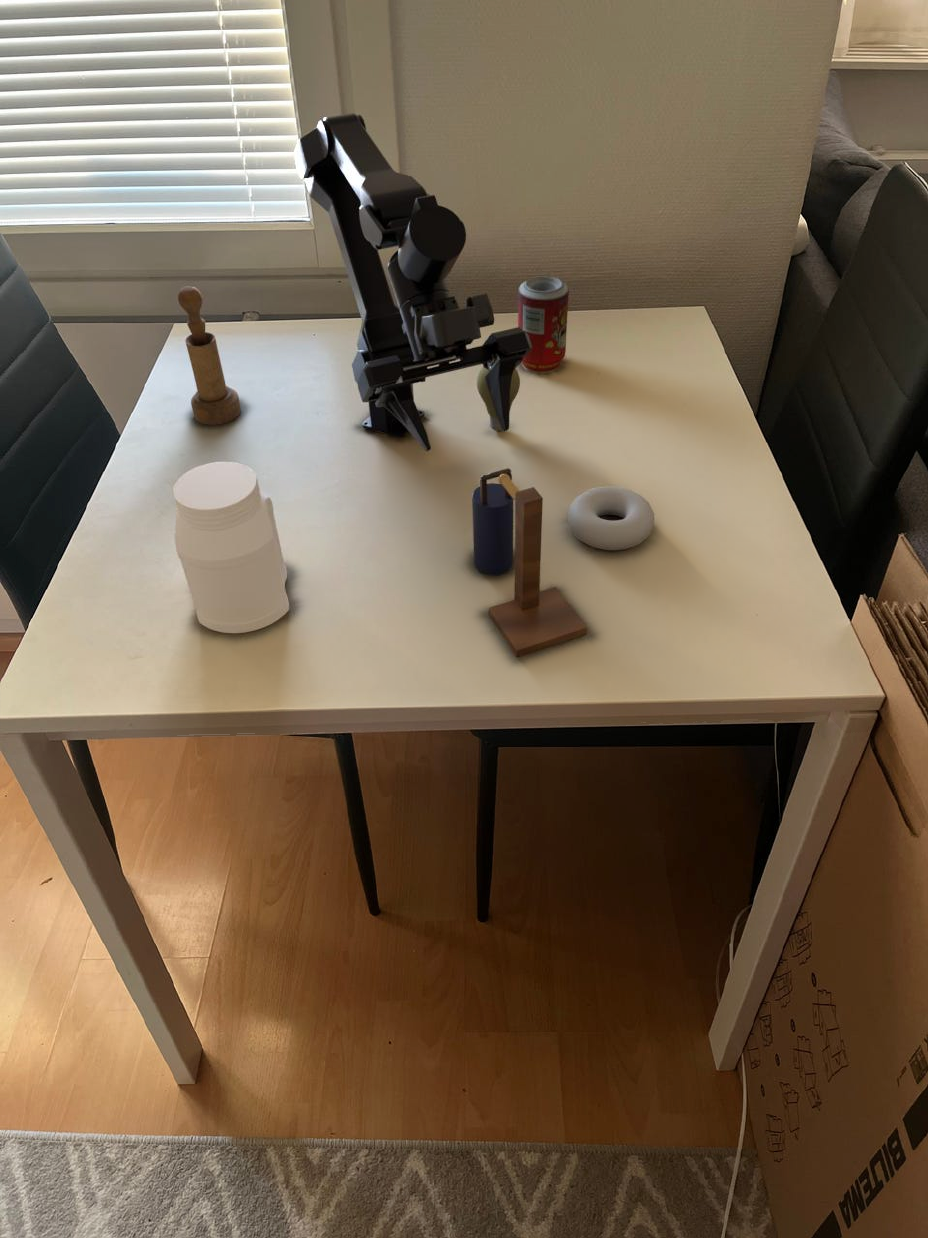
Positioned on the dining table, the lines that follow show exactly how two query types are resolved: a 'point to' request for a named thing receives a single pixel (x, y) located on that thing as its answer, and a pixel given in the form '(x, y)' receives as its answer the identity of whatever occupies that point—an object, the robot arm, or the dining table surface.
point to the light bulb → (487, 398)
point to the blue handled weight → (493, 526)
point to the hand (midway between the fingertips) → (467, 440)
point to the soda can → (543, 321)
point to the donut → (611, 532)
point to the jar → (229, 548)
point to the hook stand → (532, 586)
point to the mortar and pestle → (206, 367)
